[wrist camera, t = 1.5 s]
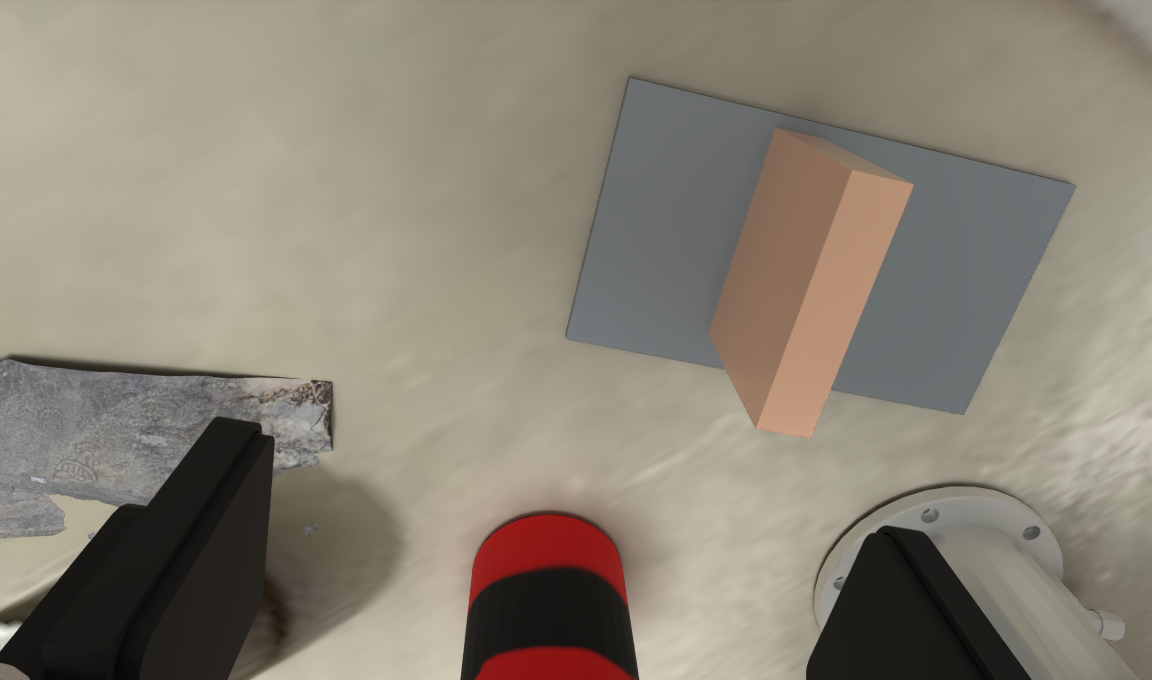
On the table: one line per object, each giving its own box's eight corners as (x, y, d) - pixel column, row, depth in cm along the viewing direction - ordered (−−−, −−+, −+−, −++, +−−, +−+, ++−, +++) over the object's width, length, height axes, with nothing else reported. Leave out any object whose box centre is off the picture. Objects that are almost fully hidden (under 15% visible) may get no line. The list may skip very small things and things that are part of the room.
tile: (824, 138, 30) (915, 184, 23) (752, 342, 34) (811, 438, 27) (775, 126, 30) (852, 170, 23) (707, 334, 34) (755, 428, 26)
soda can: (487, 497, 37) (467, 708, 26) (638, 523, 38) (679, 735, 27) (460, 616, 40) (432, 849, 29) (601, 636, 41) (625, 869, 30)
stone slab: (-63, 552, 36) (-133, 364, 31) (-38, 525, 37) (-101, 343, 33) (338, 559, 38) (326, 383, 33) (345, 533, 39) (335, 362, 35)
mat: (1069, 183, 32) (1076, 185, 32) (958, 409, 36) (963, 415, 36) (628, 76, 29) (630, 78, 29) (565, 334, 34) (565, 339, 33)
